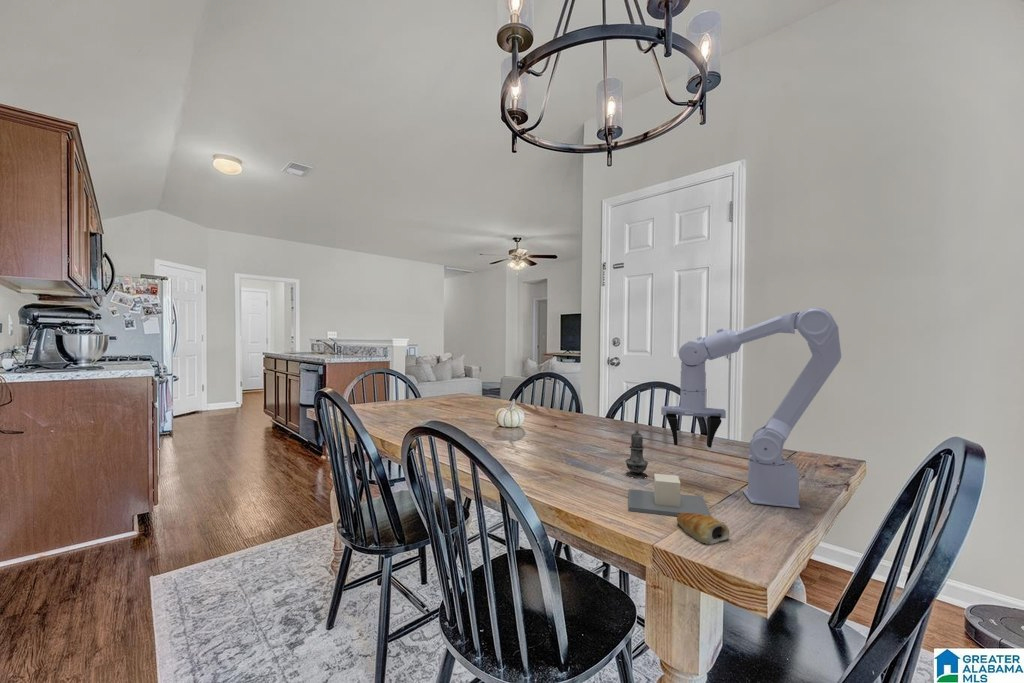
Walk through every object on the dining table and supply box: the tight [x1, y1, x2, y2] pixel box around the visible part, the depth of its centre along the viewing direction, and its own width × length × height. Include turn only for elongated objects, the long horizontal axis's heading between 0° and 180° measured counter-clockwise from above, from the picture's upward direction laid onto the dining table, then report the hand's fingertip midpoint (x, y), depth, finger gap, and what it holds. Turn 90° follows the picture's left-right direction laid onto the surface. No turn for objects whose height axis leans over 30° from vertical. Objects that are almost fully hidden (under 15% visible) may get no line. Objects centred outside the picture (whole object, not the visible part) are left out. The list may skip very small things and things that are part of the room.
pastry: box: [676, 513, 730, 545], centre depth 80 cm, size 9×7×4 cm
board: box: [627, 488, 712, 517], centre depth 92 cm, size 16×11×1 cm
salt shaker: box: [624, 430, 649, 479], centre depth 112 cm, size 6×6×12 cm
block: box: [653, 473, 682, 507], centre depth 93 cm, size 5×5×5 cm
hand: (692, 445), depth 105 cm, fingers open, 7 cm apart
